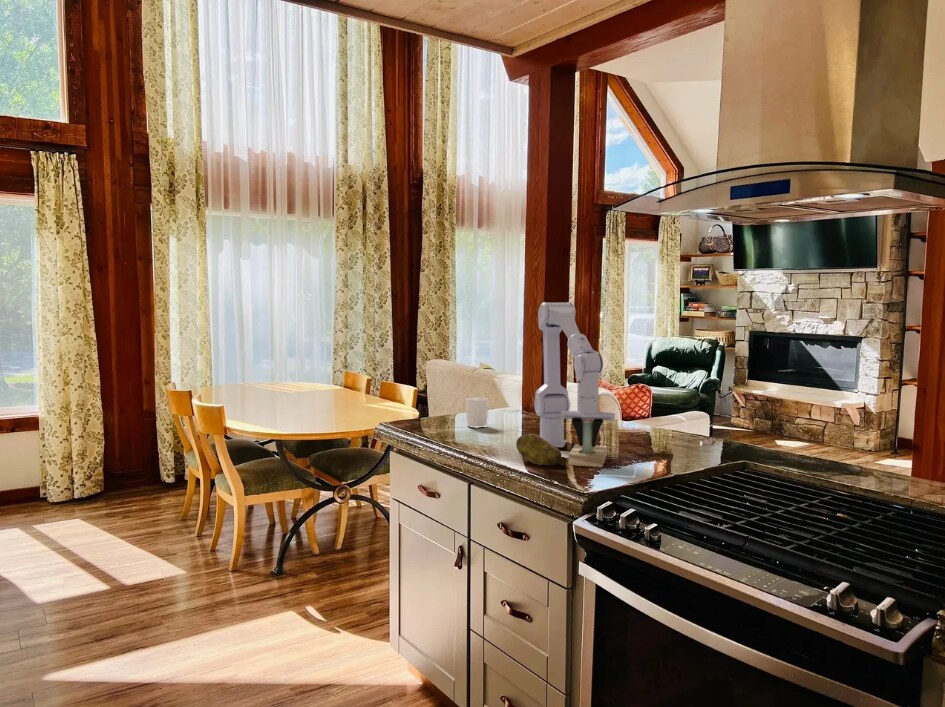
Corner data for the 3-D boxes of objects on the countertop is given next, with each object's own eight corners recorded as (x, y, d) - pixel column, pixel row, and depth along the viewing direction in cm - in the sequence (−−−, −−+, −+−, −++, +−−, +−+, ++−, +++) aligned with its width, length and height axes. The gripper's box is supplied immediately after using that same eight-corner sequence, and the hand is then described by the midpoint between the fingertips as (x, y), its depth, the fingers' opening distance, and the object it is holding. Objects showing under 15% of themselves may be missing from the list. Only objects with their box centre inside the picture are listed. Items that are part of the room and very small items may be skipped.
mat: (556, 451, 209) (556, 450, 209) (574, 452, 208) (574, 451, 208) (552, 457, 202) (552, 456, 202) (571, 458, 200) (571, 457, 200)
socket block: (574, 454, 206) (574, 444, 205) (606, 456, 203) (606, 446, 203) (568, 465, 192) (568, 454, 192) (602, 467, 190) (602, 456, 190)
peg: (582, 457, 197) (582, 421, 197) (592, 457, 197) (593, 421, 196) (581, 459, 194) (582, 423, 194) (592, 460, 194) (593, 423, 193)
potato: (542, 470, 187) (542, 440, 186) (511, 461, 197) (511, 433, 197) (565, 466, 192) (565, 437, 191) (534, 457, 202) (534, 429, 202)
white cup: (463, 428, 248) (462, 399, 247) (469, 424, 255) (469, 396, 254) (484, 429, 245) (484, 400, 244) (490, 425, 253) (490, 397, 252)
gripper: (559, 397, 192) (559, 447, 193) (614, 399, 189) (613, 450, 190) (562, 394, 199) (562, 442, 200) (615, 396, 195) (615, 444, 196)
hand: (587, 445), depth 195 cm, fingers closed on peg, 3 cm apart
